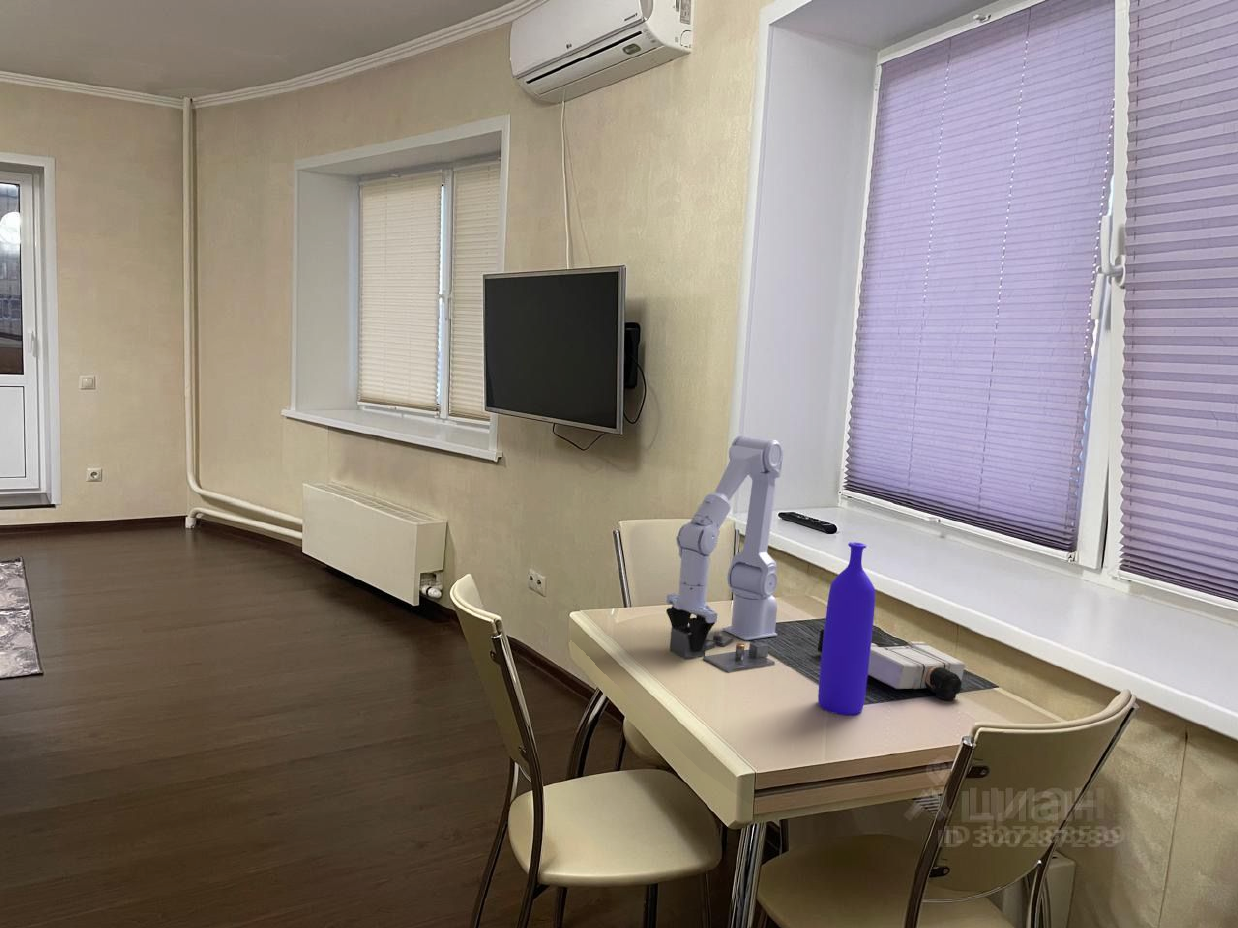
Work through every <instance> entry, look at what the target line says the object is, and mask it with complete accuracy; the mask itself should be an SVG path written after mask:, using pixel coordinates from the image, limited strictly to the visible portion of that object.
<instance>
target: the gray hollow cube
mask: <svg viewBox="0 0 1238 928" xmlns="http://www.w3.org/2000/svg"><path fill="white" fill-rule="evenodd" d="M669 641H670V643H669V652H671V653H672V654H674V655H676V656H678V657H680V658H682V659H684V660H687V659H695V658H701V657H702V658H703V656H706V653H707V652H706V651H707V650H706V641H707V637H706V639H705V642H704V645H703V648H702V651H700V652H692V650H691V631H690V626H689V624H688V626H680V627H672V626H671V630H670V640H669Z"/></svg>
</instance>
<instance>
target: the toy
mask: <svg viewBox="0 0 1238 928" xmlns="http://www.w3.org/2000/svg"><path fill="white" fill-rule="evenodd" d="M823 638H824V628H823V629H820V633H819V639H818V643H817V644H818V645H817V652H819V653H821V654H822V647H823ZM965 667H966V665H965V662H963V661H962V660H959V659H958V658H955V657H953V656H951V655H949V654H947V653H945V652H942V651H941V650H939V649H937V648H934V647H933V646H931V645H928V644H927V643H926V642H925V641H917V640H916V641H915V640H914V641H913V640H912V641H908V642H907V644H903V643H902V644H899V643H895V642H888V641H886V640H885V639H884V638H882V637H881V636H880V635H879V634H877V633H875V631H872V641H871V650H870V659H869V668H868V676H870V677H872V678H874V679H876V680H878V681H879V682H882V683H884V684H886V685H888V686H890V687H892V688H893V689H896V690H901V689H902V690H903V689H906V690H908V689H909V690H910V689H913V690H919V689H928V690H930V691H932V692H933V693H934V694H935V695H936V696H937V698H939V699H941V700H942V701H946V702H949V701H954V699H955V698H956V696H957V695H959V694H960V692H961V690H962V689H961V688H962V685H963V684H962V682H963V681H962V680H963V675H964V672H965Z"/></svg>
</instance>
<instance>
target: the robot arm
mask: <svg viewBox="0 0 1238 928" xmlns="http://www.w3.org/2000/svg"><path fill="white" fill-rule="evenodd" d="M784 452H785V450H784V449H783V447H782V445H781V444H780V442H779V440H777V439H765V438H758V437H751V436H745V435H744V434H743V435H742V434H740V435H737V436H736V437H735V438H734V439H733V441H732V443H731V446H730V447H729V449H728V458H729V462H728V464H727V466H726V468H725V470H724V472H723V474H722V476H721V479H720V480H719V483H717V484H718V485H717V487H716V489H715V491H714V492H712V493H707V494H706V496H705V497H704V499H703V500H702V502H701V504H700V506H699V507H698V509H697V510H696V512H695V514H694V515H693V517H692V518H691V520H690V522H687V523H685V524H683V525H681V527H680V528H679V530H678V532H677V533H678V534H677V535H676V539H675V540H676V545H677V547H678V556H679V558H680V569H679V578H678V579H679V580H678V581H679V582H678V593H677V594H676V593H667V595H666V604H667V605H672V606H671V607H669V608H666V614H667V616H668V619H669V621H670V624H671V628H672V627H680V626H688V625H689V626H690V631H691V650H692V652H700V651H702V648H703V645H704V642H705V639H706V637H707V635H709V634H710V631H711V630H712V628H713V627H714V625H715V624H716V623H717V621H718V612H717V611H715V610H713V609H712V608H711V607H710V606H709V605H708V604H707V593H708V591H707V590H708V580H709V572H710V571H709V568H710V558H711V557H710V555H711V554H712V553H713V552H714V550H715V549H716V548H717V546H718V545H717V544H718V541H719V535H720V532H721V531H720V529H721V527H722V525H723V523H724V521H726V518H727V516H728V514H729V513H730V511H731V510H732V509H731V508H732V507H731V504H730V501H731V499H732V498H733V497H734V495H735V493H736V492H737V491H738V490H739V488H740V487H741V485H742V484H743V482H744V481H745V479H746V478H747V477H748V476H749V477H750V478H751V481H752V483H751V488H750V489H751V490H750V497H749V504H748V511H747V512H748V513H747V519H746V525H745V526H746V528H745V534H744V541H743V548H742V550H741V551H739V552H738V553H737V554H734V555H733V556H732V560H731V564H730V567H729V568H728V572H727V575H726V576H727V577H726V578H727V579H726V580H727V584H728V586H729V588H730V589H731V593H733V594H734V595H733V605H732V614H731V615H732V618H731V626H727V627H723V628H722V630H723V632H726V633H728V634H731V635H732V636H734V637H736V638H740V639H742V640H743V641H749V640H750V641H751V640H756V639H764V638H769V637H771V638H772V637H777V636H778V633H776V623H777V614H778V613H777V612H778V604H777V601H776V598H775V597H774V595H773V594H774V592H775V591H776V589H777V585H778V575H777V565H778V564H777V562H776V561H775V560H774V559H773V558H772V556H771V555H770V554H769V553H768V547H769V539H770V532H771V525H772V519H773V511H774V503H775V502H774V501H775V496H776V488H777V482H778V481H777V480H778V478H780V477H781V473H782V468H783V467H782V466H783V459H784ZM692 615H694V616H695V617H691V616H692Z"/></svg>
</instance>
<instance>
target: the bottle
mask: <svg viewBox="0 0 1238 928" xmlns="http://www.w3.org/2000/svg"><path fill="white" fill-rule="evenodd" d="M847 546H848V547H850V555H849V556H850V557H849V558H850V559H849V562H848V565H847V567H846V568H845V569H843V570H842V571H841V572H840V573H839V574H838V575H837V576H836V577H835V578H834V579H833V580H832V582H831V584H830V586H829V591H828V597H827V598H828V599H827V605H826V612H825V620H824V628H823V629H824V638H823V647H822V653H821V659H820V670H819V679H818V695H817V696H818V697H817V699H818V705H819V706H820V708H821V709H823V710H824V711H827V712H829V713H832V714H834V715H841V716H856V715H858V714H861V712H862V711H863V709H864V705H865V704H864V703H865V700H866V699H865V698H866V691H867V685H868V677H869V675H868V668H869V659H870V650H871V641H872V631H873V630H874V629H873V628H874V619H875V606H876V604H875V603H876V589H875V586H874V584H873V582H872V581H871V579H870V577H869V576H868V575H867V573H866V571H865V570H864V569H863V566H862V558H863V550H864V549H866V548H867V545H866V544H864V543H861V542H857V541H855V542H849V543H848V545H847ZM873 632H874V631H873Z"/></svg>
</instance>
